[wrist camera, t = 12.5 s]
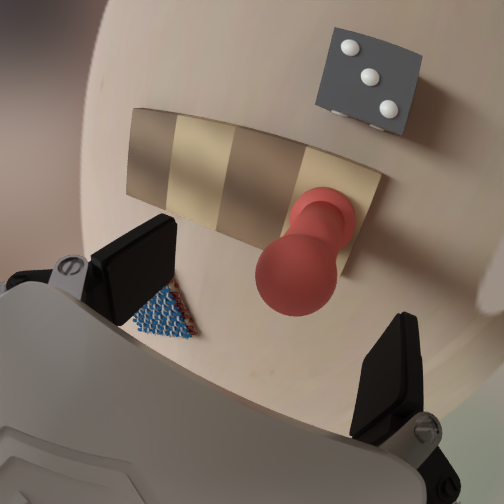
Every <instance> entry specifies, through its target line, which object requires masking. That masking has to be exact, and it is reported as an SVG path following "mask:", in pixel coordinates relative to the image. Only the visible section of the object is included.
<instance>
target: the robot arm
mask: <svg viewBox="0 0 504 504" xmlns="http://www.w3.org/2000/svg"><path fill="white" fill-rule="evenodd" d="M176 237H177V223H176V222H175V219H174V218H173V217H171V216H168V215H166V214H163V213H161V214H159V215H157V216H155V217H154V218H152V219H150V220H148V221H147V222H145V223H143V224H141V225H140V226H138V227H136V228H135V229H133V230H131V231H129V232H128V233H126V234H124V235H123V236H121V237H119V238H118V239H116V240H114V241H113V242H111V243H110V244H108V245H106V246H105V247H103V248H102V249H100V250H98V251H97V252H95V253H94V254H92V255H91V261H90V262H88V261H87V259H86V258H84V257H83V256H80V255H68V256H65V257H63V258H61V259H60V260H59V261H57V262H56V264H55V266H54V268H53V269H50V270H49V269H48V270H31V271H20V272H16V273H15V274H14V275H12V276H11V277H10V278H9V279H8V281H7V283H6V284H5V281H4V282H0V504H461V503H460V502H458V503H457V501H456V500H457V498H458V496H459V493H460V490H461V483H460V479H459V477H458V475H457V473H456V472H455V470H454V469H453V467H452V466H451V464H450V463H449V461H448V460H447V458H446V457H445V455H444V454H443V452H442V451H441V449H440V448H439V447H438V445H439V443H440V441H441V438H442V427H441V424H440V422H439V420H438V419H437V418H436V417H435V416H434V415H433V414H431V413H429V412H424V411H423V405H424V397H423V365H422V356H421V351H420V339H419V329H418V320H417V317H416V316H414V315H412V314H409V313H407V312H402V313H401V314H399V313H398V314H396V316H395V317H394V319H393V320H392V322H391V323H390V324H389V326H388V327H387V329H386V330H385V331H384V333H383V334H382V336H381V337H380V338H379V340H378V341H377V342H376V344H375V345H374V346H373V348H372V349H371V350H370V352H369V353H368V354H367V355H366V357H365V359H364V361H363V363H362V369H361V376H360V382H359V388H358V393H357V399H356V404H355V409H354V414H353V419H352V423H351V428H350V433H349V434H350V436H352V438H348V437H345V436H342V435H339V434H336V433H333V432H330V431H327V430H324V429H321V428H318V427H315V426H313V425H310V424H307V423H304V422H301V421H299V420H296V419H293V418H291V417H288V416H286V415H283V414H281V413H278V412H276V411H273V410H271V409H268V408H266V407H264V406H261V405H259V404H257V403H254V402H252V401H250V400H248V399H246V398H243V397H241V396H239V395H237V394H235V393H233V392H231V391H228V390H226V389H224V388H222V387H220V386H218V385H216V384H214V383H212V382H210V381H208V380H206V379H204V378H203V377H201V376H199V375H197V374H195V373H193V372H191V371H189V370H188V369H186V368H184V367H182V366H180V365H179V364H177V363H175V362H173V361H172V360H170V359H168V358H167V357H165V356H163V355H161V354H160V353H158V352H156V351H155V350H153V349H151V348H150V347H148V346H147V345H145V344H143V343H142V342H140V341H139V340H137V339H136V338H134V337H132V336H131V335H129V334H128V333H126V332H125V331H123V330H122V329H120V328H119V327H117V326H122V325H123V324H124V323H126V322H127V321H128V320H129V319H130V318H131V317H132V316H133V315H134V314H135V313H136V312H137V311H139V310H140V309H141V308H142V307H143V306H144V305H145V304H146V303H147V302H148V301H149V300H151V299H152V298H153V297H154V296H155V295H156V294H157V293H158V292H159V291H160V290H162V289H163V288H164V287H165V286H166V285H167V284H168V283H169V282H170V281H171V280H172V279H173V277H174V270H175V252H176Z"/></svg>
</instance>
